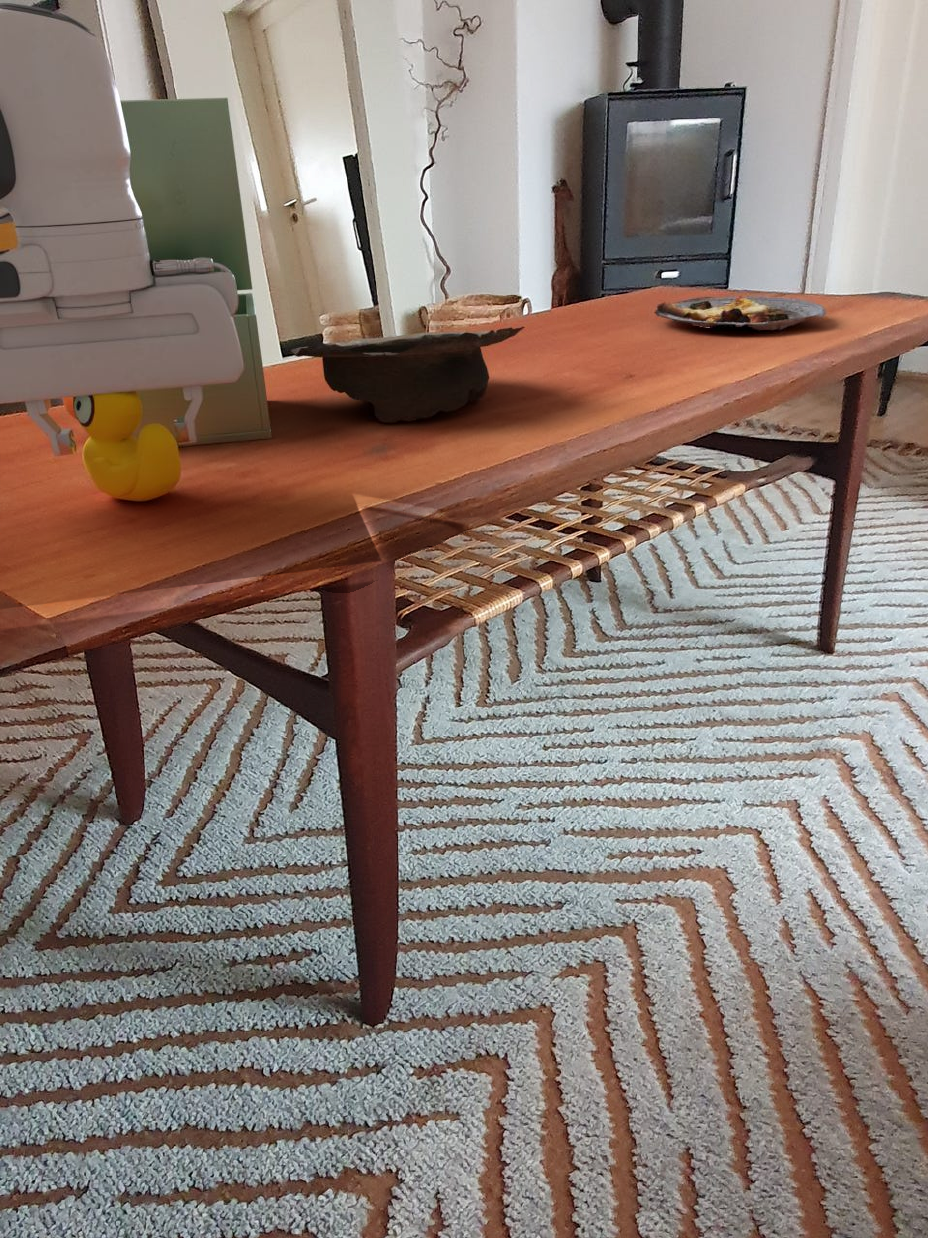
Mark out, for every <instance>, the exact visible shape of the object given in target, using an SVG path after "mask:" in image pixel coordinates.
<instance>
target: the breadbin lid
mask: <svg viewBox="0 0 928 1238" xmlns="http://www.w3.org/2000/svg"><path fill="white" fill-rule="evenodd" d="M120 103H121V107H122V111H123V116H124V120H125V125H126V130H127V135H128V140H129V146H130V152H131V158H130V170H129V173H130V182H131V187H132V191H133V194H134V196H135V199H136V201H137V203H138V205H139V207H140V210H141V213H142V217H143V222H144V228H145V233H146V239H147V244H148V250H149V255H150V259H151V261H156V260H192V259H194V258H202V257H204V258H211V259H212V262H215V263H219V264H221V265H224V266H225V267H226V268H228V269H229V270H230V271H231V273H232V274H233V276H234V278H235V281H236V286H237V291H249V290H250V291H251V290H253V283H252V274H251V267H250V260H249V252H248V244H247V235H246V227H245V221H244V213H243V203H242V197H241V196H242V195H241V189H240V182H239V173H238V166H237V159H236V151H235V143H234V135H233V127H232V121H231V120H232V119H231V118H232V117H231V112H230V111H231V110H230V104H229V98H228V97H204V98H202V97H201V98H200V97H199V98H167V99H166V98H165V99H163V98H161V99H130V100H129V99H128V100H127V99H126V100H124V99H123V100H121V99H120ZM213 272H223V271H222V270H220V269H217V268H214V271H213ZM213 272H210V273H213ZM186 274H196V273H186ZM179 275H180V274H179ZM182 275H185V274H182ZM153 277H154V284H156V283H155V275H154V276H153Z"/></svg>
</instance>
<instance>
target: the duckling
mask: <svg viewBox="0 0 928 1238" xmlns="http://www.w3.org/2000/svg"><path fill="white" fill-rule="evenodd" d="M61 400H62V402H63V405H64V408H65V411H67V412H68V414H69V415H70V416H71V417H72V418H74V419H75V420H77V421H78V423H79V424H80V426H81V428H82V429H83V431H85V432H86V433H87V435H88V436H89V437H88V438H87V439H86V441H85V443H84V444H83V448H82V464H83V465H84V468H85V471H86V473H87V475H88V476H89V477H90V479H91V480H92V482H93V484H94V485H95V487H96V488H97V489H98V490H99V491H100V492H102V493H104V494H106V495H108V496H109V497H110V498H113V499H117V500H124V501H131V502H147V501H152V500H154V499H157V498H159V497H162V496H164V495H167V494H168V493H170V492H171V491H172V490H173V489H175V487H176V486H177V484H178V483H179V482H180V479H181V475H182V463H181V456H180V452H179V447H178V446H177V442H176V440H175V438H174V437H173V435H172V434H171V433H170V431H169V430H168V429H167V428H166V427H165V426H163V425H161V424H156V423H153V424H149V425H146V426H145V427H143V428H142V430H141V432H140V434H139V438H138V440H137V439H136V438H135V437H134V436H133V435H132V433H133V432H134V431H135V430H136V429H137V428H138V427H139V425H140V423H141V420H142V414H143V409H142V403H141V400H140V397H139V395H138V393H137V392H136V391H133V392H122V393H110V394H99V395H90V396H79V397H68V398H61Z"/></svg>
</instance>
